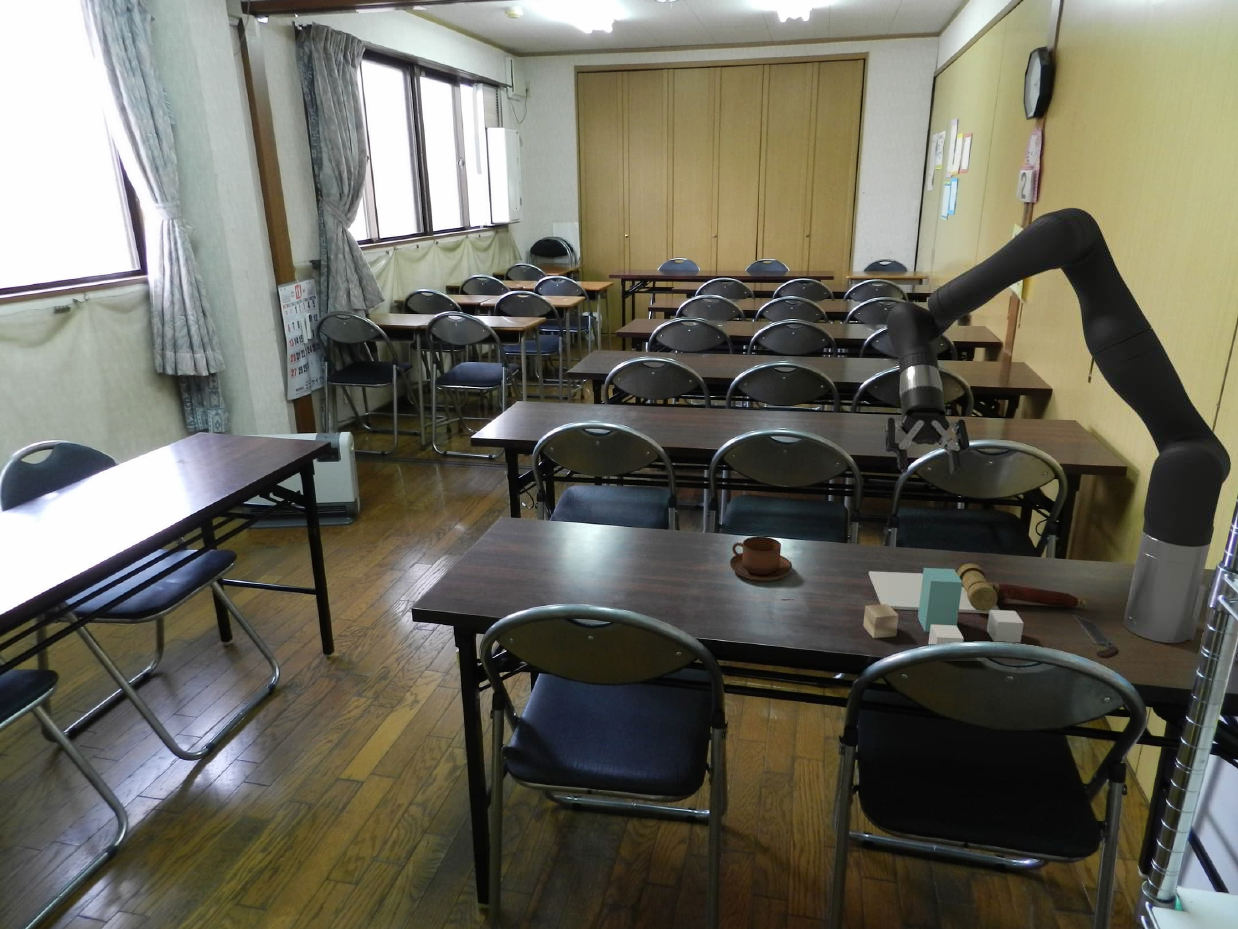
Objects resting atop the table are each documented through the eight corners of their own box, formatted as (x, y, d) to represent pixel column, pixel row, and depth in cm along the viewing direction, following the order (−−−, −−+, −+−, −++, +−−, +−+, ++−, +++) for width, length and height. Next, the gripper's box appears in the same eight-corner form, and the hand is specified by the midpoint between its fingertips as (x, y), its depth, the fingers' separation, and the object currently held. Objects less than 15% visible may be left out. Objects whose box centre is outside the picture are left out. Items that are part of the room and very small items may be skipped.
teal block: (947, 618, 139) (954, 569, 136) (955, 633, 135) (962, 582, 132) (917, 617, 140) (923, 567, 137) (924, 631, 135) (931, 581, 132)
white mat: (975, 578, 154) (976, 575, 153) (999, 614, 140) (1000, 611, 140) (868, 574, 156) (869, 571, 156) (882, 608, 143) (883, 605, 143)
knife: (1124, 661, 127) (1125, 657, 126) (1097, 659, 127) (1098, 655, 127) (1088, 617, 140) (1089, 614, 140) (1064, 616, 140) (1065, 612, 140)
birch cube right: (885, 624, 138) (887, 603, 136) (896, 636, 134) (898, 615, 133) (863, 626, 137) (865, 605, 136) (873, 638, 133) (875, 617, 132)
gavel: (1079, 579, 146) (1101, 605, 136) (1072, 601, 147) (1093, 628, 138) (959, 561, 148) (973, 585, 139) (954, 583, 150) (967, 608, 140)
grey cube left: (1011, 632, 135) (1015, 611, 134) (1020, 644, 131) (1023, 622, 130) (986, 631, 135) (989, 609, 134) (994, 643, 132) (997, 621, 130)
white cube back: (953, 647, 130) (956, 625, 129) (960, 660, 127) (963, 638, 125) (928, 646, 131) (930, 624, 130) (934, 659, 127) (937, 637, 126)
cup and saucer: (726, 583, 153) (727, 553, 152) (733, 557, 164) (734, 529, 163) (790, 589, 151) (792, 559, 149) (792, 562, 162) (794, 534, 160)
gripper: (886, 383, 148) (893, 461, 141) (966, 384, 147) (977, 463, 140) (878, 404, 155) (884, 479, 148) (955, 405, 153) (964, 482, 146)
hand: (929, 471), depth 144 cm, fingers open, 8 cm apart
